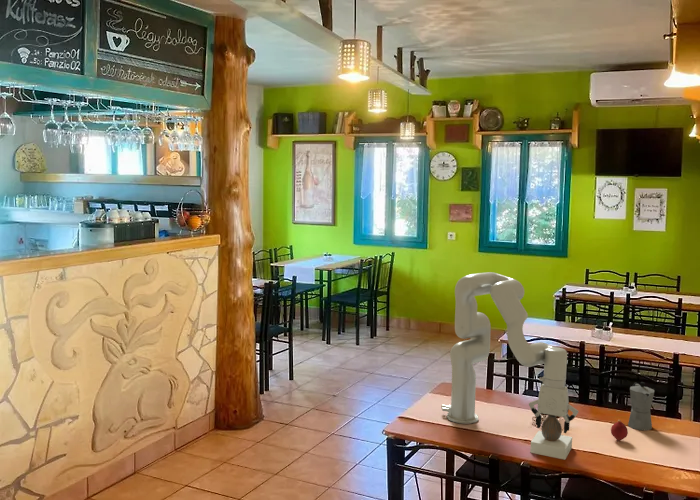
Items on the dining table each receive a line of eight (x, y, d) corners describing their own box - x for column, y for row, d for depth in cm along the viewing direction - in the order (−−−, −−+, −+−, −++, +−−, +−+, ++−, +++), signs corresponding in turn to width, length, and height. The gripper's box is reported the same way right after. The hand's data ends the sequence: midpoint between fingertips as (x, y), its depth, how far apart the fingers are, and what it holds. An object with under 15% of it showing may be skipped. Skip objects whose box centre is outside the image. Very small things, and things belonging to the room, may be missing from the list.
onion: (626, 438, 251) (627, 418, 250) (627, 444, 245) (628, 423, 244) (610, 436, 253) (611, 416, 252) (610, 442, 247) (611, 421, 246)
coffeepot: (658, 433, 257) (661, 387, 255) (633, 432, 258) (636, 386, 256) (643, 418, 272) (646, 375, 270) (620, 418, 273) (622, 375, 271)
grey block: (530, 452, 237) (530, 441, 236) (538, 441, 247) (538, 430, 247) (565, 459, 231) (565, 448, 231) (571, 447, 242) (572, 437, 241)
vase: (562, 443, 235) (563, 419, 234) (542, 442, 236) (543, 417, 235) (560, 436, 242) (561, 412, 241) (540, 434, 243) (541, 411, 242)
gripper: (527, 381, 237) (525, 428, 239) (578, 389, 229) (575, 437, 231) (532, 376, 244) (530, 421, 246) (581, 383, 236) (579, 430, 238)
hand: (552, 429), depth 238 cm, fingers open, 9 cm apart
